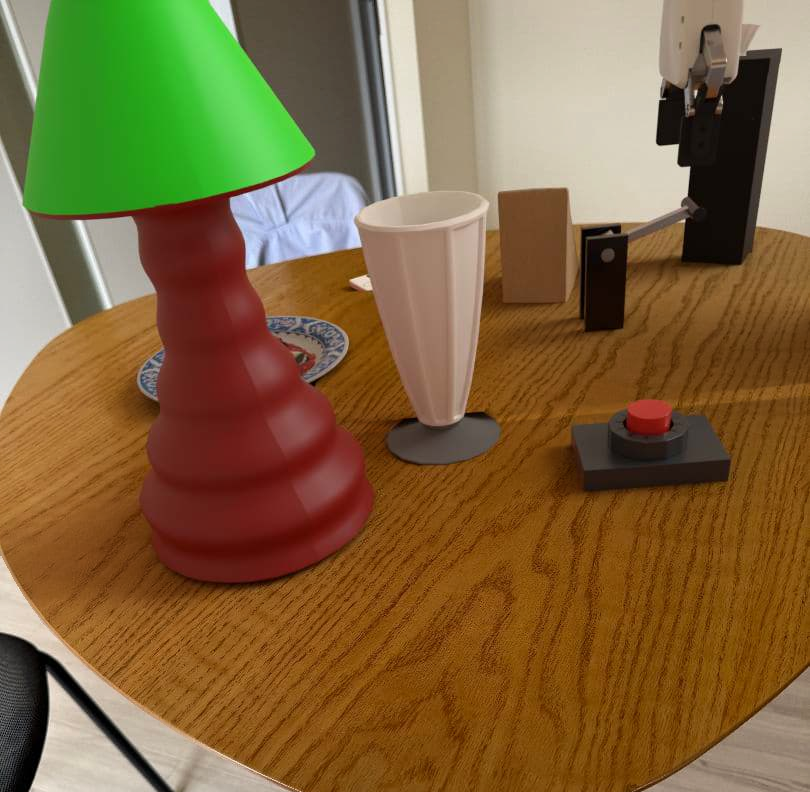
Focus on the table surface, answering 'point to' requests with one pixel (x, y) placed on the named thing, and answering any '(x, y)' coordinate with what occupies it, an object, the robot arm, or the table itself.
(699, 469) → the control block
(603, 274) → the bracket
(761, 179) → the tall black pillar
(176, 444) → the table lamp
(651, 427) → the button
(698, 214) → the lever
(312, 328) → the ceramic plate
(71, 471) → the table surface
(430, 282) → the cup
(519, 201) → the sandwich container
